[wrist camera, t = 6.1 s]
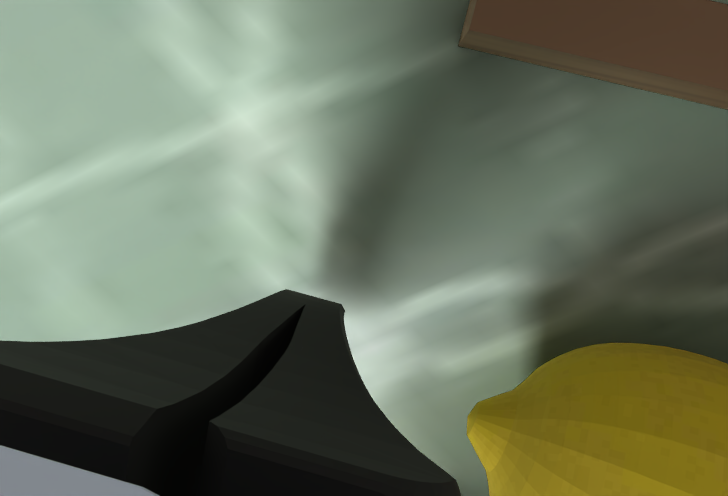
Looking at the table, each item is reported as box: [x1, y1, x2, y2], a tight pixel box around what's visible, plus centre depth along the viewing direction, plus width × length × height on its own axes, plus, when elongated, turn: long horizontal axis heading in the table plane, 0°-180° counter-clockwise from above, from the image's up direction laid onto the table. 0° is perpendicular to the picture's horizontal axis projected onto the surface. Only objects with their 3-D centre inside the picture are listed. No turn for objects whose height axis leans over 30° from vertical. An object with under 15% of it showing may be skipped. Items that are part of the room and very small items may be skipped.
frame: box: [458, 0, 728, 110], centre depth 11 cm, size 15×11×4 cm
